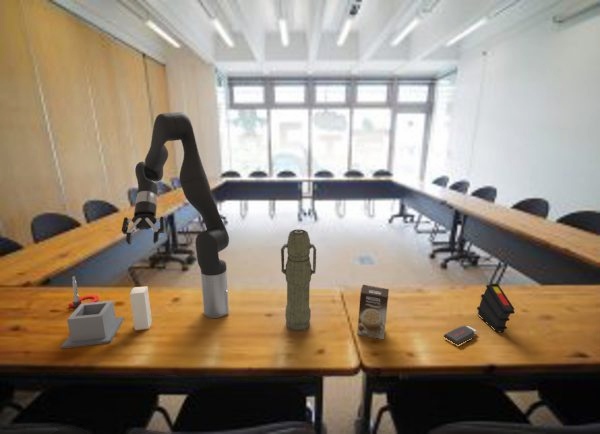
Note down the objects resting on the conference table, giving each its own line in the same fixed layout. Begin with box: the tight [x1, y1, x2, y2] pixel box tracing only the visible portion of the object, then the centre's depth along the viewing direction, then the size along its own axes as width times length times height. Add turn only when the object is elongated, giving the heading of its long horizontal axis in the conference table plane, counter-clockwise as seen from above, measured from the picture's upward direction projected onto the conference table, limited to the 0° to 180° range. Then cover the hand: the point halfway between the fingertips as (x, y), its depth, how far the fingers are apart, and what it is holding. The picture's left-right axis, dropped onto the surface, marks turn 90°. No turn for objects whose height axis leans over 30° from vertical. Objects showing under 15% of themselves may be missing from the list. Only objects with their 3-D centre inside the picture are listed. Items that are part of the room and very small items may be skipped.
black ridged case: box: [476, 283, 516, 332], centre depth 112 cm, size 4×13×15 cm, turn 4°
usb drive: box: [443, 325, 478, 345], centre depth 105 cm, size 5×12×3 cm, turn 121°
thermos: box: [280, 228, 317, 332], centre depth 108 cm, size 9×12×35 cm
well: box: [60, 300, 125, 349], centre depth 105 cm, size 14×14×9 cm
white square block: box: [129, 285, 153, 331], centre depth 109 cm, size 4×4×14 cm
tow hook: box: [68, 275, 100, 309], centre depth 124 cm, size 8×13×9 cm
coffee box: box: [356, 284, 390, 340], centre depth 106 cm, size 9×6×16 cm
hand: (142, 243), depth 114 cm, fingers open, 8 cm apart
